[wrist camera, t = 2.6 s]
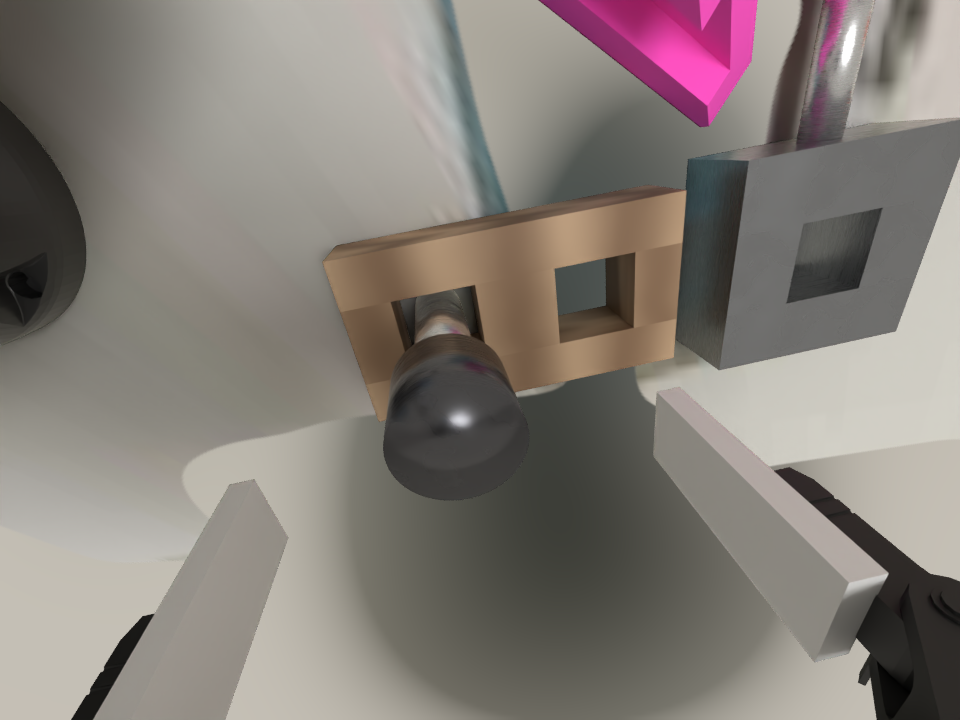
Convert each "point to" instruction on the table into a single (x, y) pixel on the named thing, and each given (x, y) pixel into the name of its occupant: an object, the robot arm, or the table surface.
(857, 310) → the block
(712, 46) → the bracket
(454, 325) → the dark knobbed metal peg
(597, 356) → the stand
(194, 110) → the table surface
